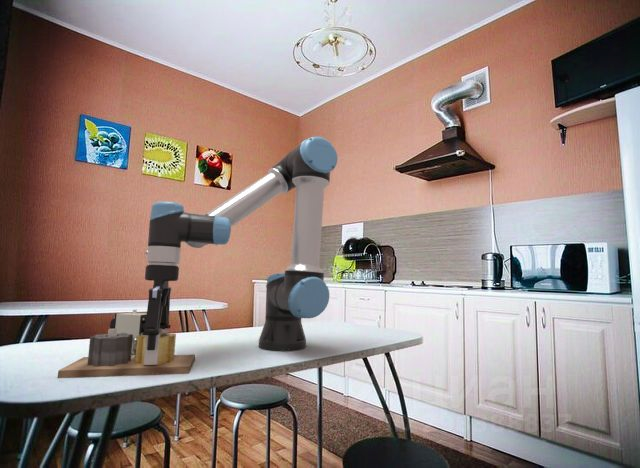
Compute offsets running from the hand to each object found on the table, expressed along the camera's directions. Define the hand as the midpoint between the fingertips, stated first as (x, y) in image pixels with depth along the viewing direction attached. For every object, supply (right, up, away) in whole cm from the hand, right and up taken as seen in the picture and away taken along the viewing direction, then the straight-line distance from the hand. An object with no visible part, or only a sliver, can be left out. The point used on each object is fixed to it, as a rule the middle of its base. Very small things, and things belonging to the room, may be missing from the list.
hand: (154, 359), depth 85 cm
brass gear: (0, 0, 0) cm, 0 cm away
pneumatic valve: (-13, -4, +15) cm, 20 cm away
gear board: (-4, -1, -1) cm, 5 cm away
